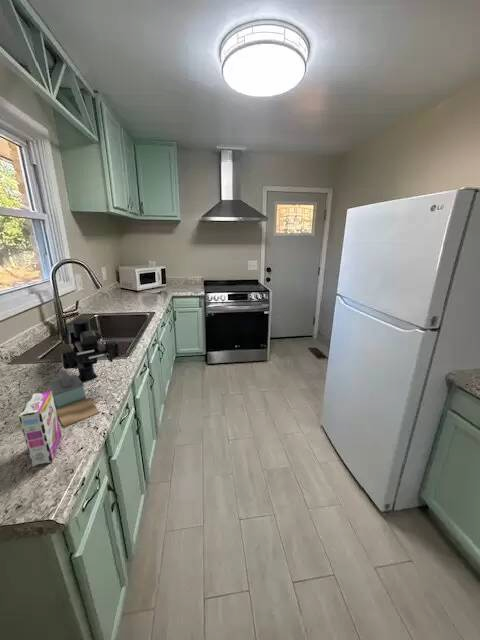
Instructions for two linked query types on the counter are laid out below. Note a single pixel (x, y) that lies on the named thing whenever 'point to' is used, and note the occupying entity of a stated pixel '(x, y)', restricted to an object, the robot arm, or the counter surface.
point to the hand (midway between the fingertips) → (98, 364)
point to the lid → (65, 383)
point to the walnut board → (76, 412)
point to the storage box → (69, 397)
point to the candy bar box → (41, 428)
